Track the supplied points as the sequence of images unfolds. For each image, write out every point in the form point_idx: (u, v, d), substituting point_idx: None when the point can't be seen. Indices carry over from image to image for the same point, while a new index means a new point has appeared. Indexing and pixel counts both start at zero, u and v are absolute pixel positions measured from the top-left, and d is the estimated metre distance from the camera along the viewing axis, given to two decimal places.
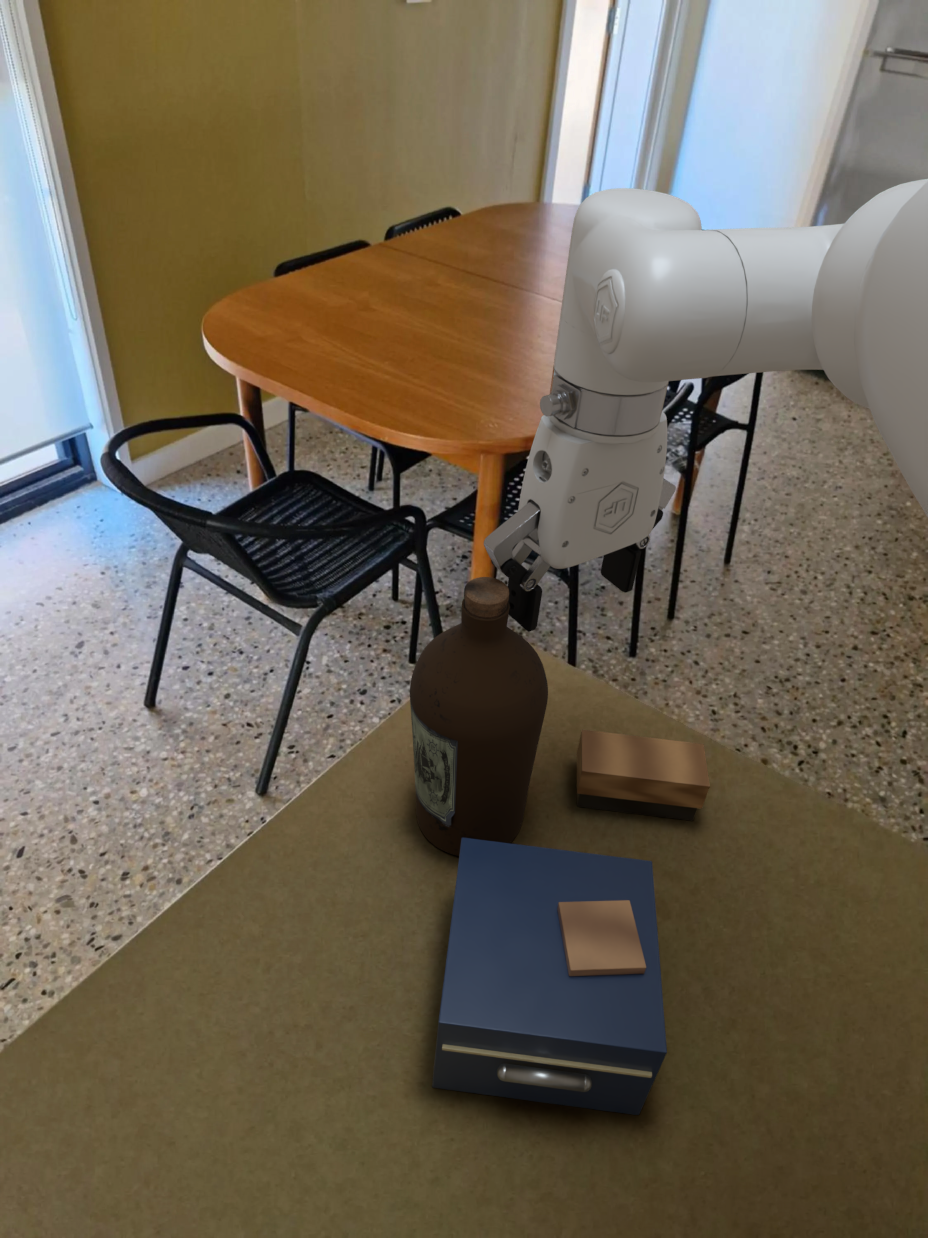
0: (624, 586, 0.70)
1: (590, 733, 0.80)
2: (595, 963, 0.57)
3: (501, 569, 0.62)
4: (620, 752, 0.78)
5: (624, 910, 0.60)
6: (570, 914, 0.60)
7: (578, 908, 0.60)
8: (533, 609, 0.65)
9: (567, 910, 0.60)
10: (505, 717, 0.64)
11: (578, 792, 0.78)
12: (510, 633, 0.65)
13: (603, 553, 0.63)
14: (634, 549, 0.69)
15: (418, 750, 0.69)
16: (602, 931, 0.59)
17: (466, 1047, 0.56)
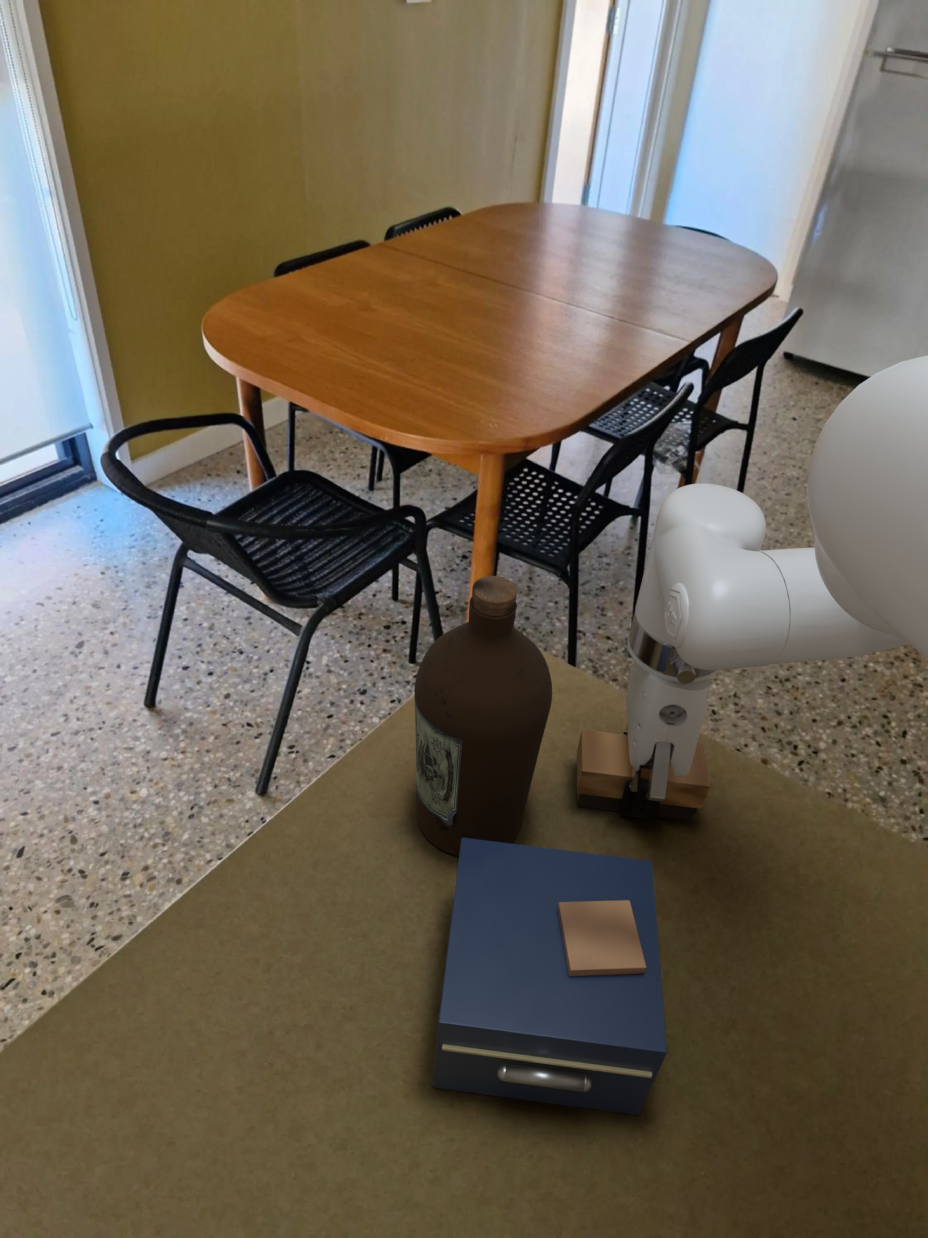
0: None
1: (590, 733, 0.80)
2: (595, 963, 0.57)
3: None
4: (620, 752, 0.78)
5: (624, 910, 0.60)
6: (570, 914, 0.60)
7: (578, 908, 0.60)
8: (659, 802, 0.77)
9: (567, 910, 0.60)
10: (510, 716, 0.64)
11: (578, 792, 0.78)
12: (516, 632, 0.65)
13: None
14: None
15: (421, 748, 0.69)
16: (602, 931, 0.59)
17: (466, 1047, 0.56)
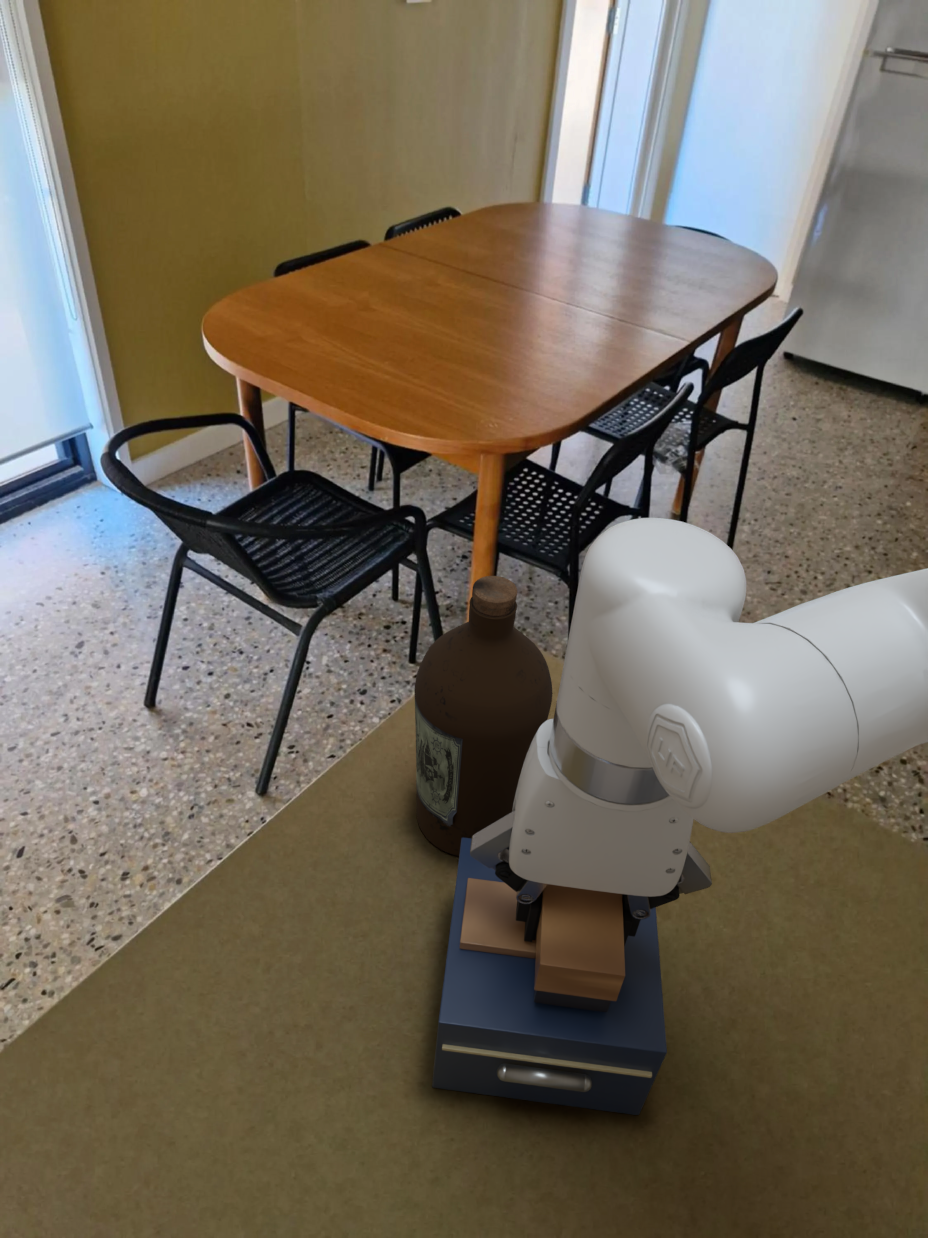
0: None
1: (547, 953, 0.52)
2: (486, 940, 0.58)
3: None
4: (579, 918, 0.54)
5: None
6: (476, 891, 0.61)
7: (485, 886, 0.61)
8: None
9: (474, 886, 0.61)
10: (510, 716, 0.64)
11: (616, 998, 0.54)
12: (516, 632, 0.65)
13: None
14: None
15: (421, 748, 0.69)
16: (502, 911, 0.60)
17: (466, 1047, 0.56)
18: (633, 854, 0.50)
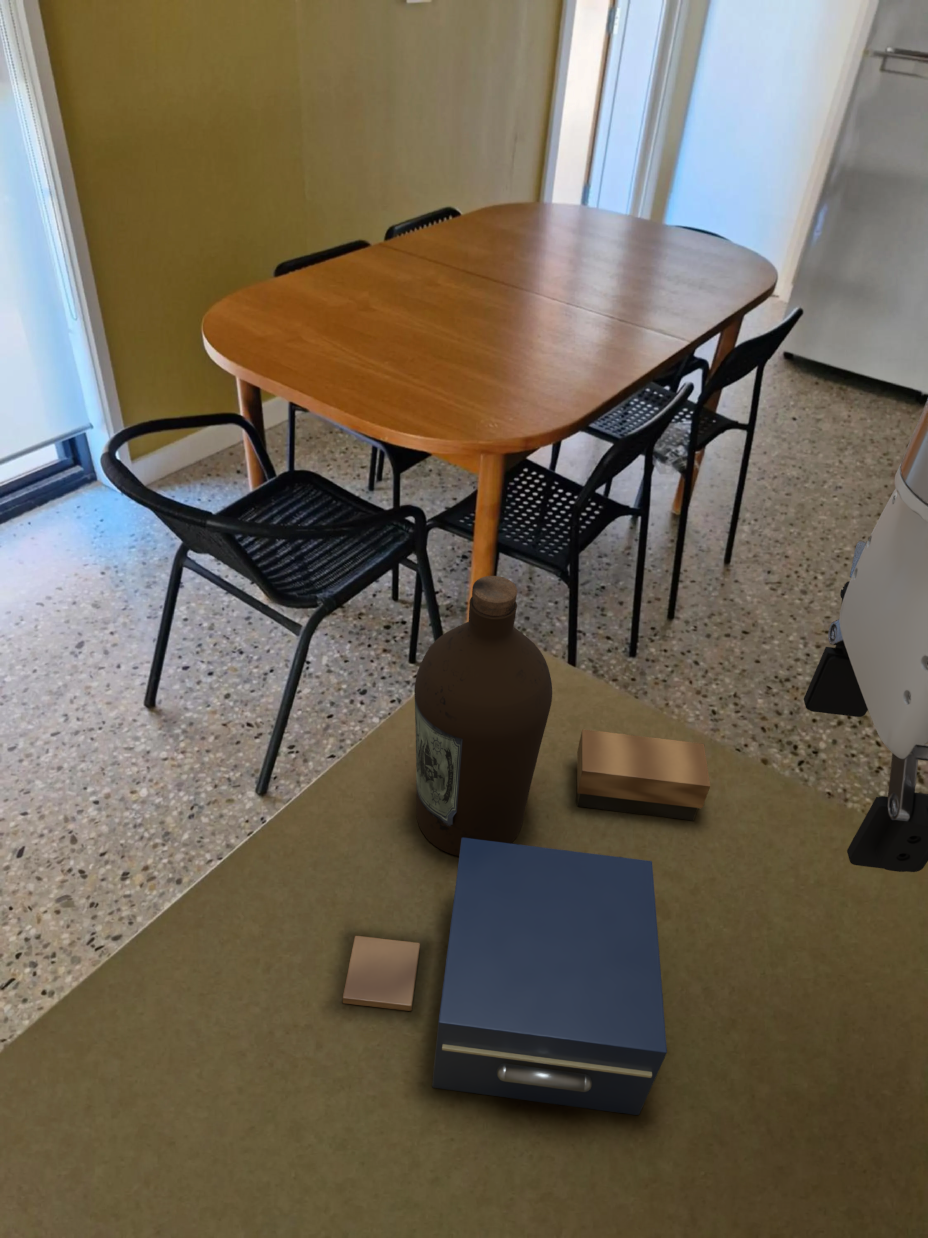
0: (864, 709, 0.46)
1: (590, 733, 0.80)
2: None
3: None
4: (620, 752, 0.78)
5: None
6: None
7: None
8: None
9: None
10: (510, 716, 0.64)
11: (578, 792, 0.78)
12: (516, 632, 0.65)
13: None
14: None
15: (421, 748, 0.69)
16: None
17: (466, 1047, 0.56)
18: (896, 630, 0.35)
